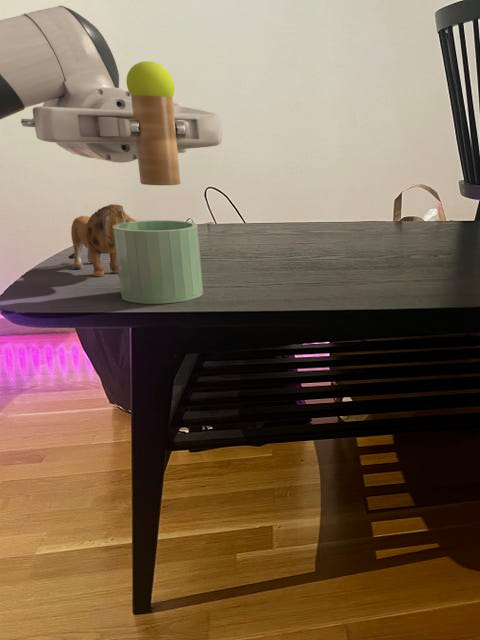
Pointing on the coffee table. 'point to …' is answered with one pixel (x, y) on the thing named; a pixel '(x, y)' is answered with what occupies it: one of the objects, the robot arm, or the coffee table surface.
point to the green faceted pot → (158, 261)
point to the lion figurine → (97, 236)
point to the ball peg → (154, 123)
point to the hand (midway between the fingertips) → (158, 129)
